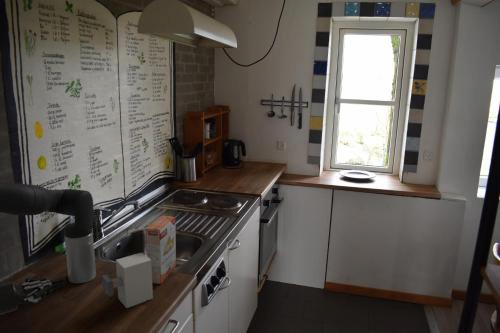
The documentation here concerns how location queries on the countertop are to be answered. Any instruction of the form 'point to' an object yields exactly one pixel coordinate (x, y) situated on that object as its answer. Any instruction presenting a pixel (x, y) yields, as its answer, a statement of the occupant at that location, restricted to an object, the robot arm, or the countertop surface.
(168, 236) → the cracker box
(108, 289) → the block
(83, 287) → the countertop surface
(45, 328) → the countertop surface
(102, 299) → the countertop surface
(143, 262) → the key block
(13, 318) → the countertop surface
